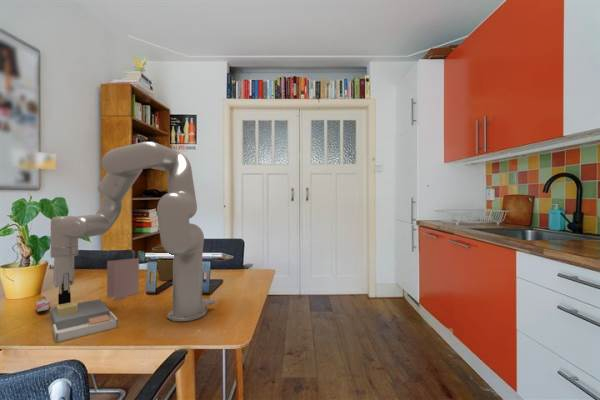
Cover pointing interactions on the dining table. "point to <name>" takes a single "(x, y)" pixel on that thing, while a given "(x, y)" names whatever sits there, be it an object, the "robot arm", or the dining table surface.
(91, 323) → the salmon pink block
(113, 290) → the greeting card
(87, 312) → the slate board
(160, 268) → the plant pot
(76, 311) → the tile mustard
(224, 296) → the dining table surface
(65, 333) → the tray
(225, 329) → the dining table surface
